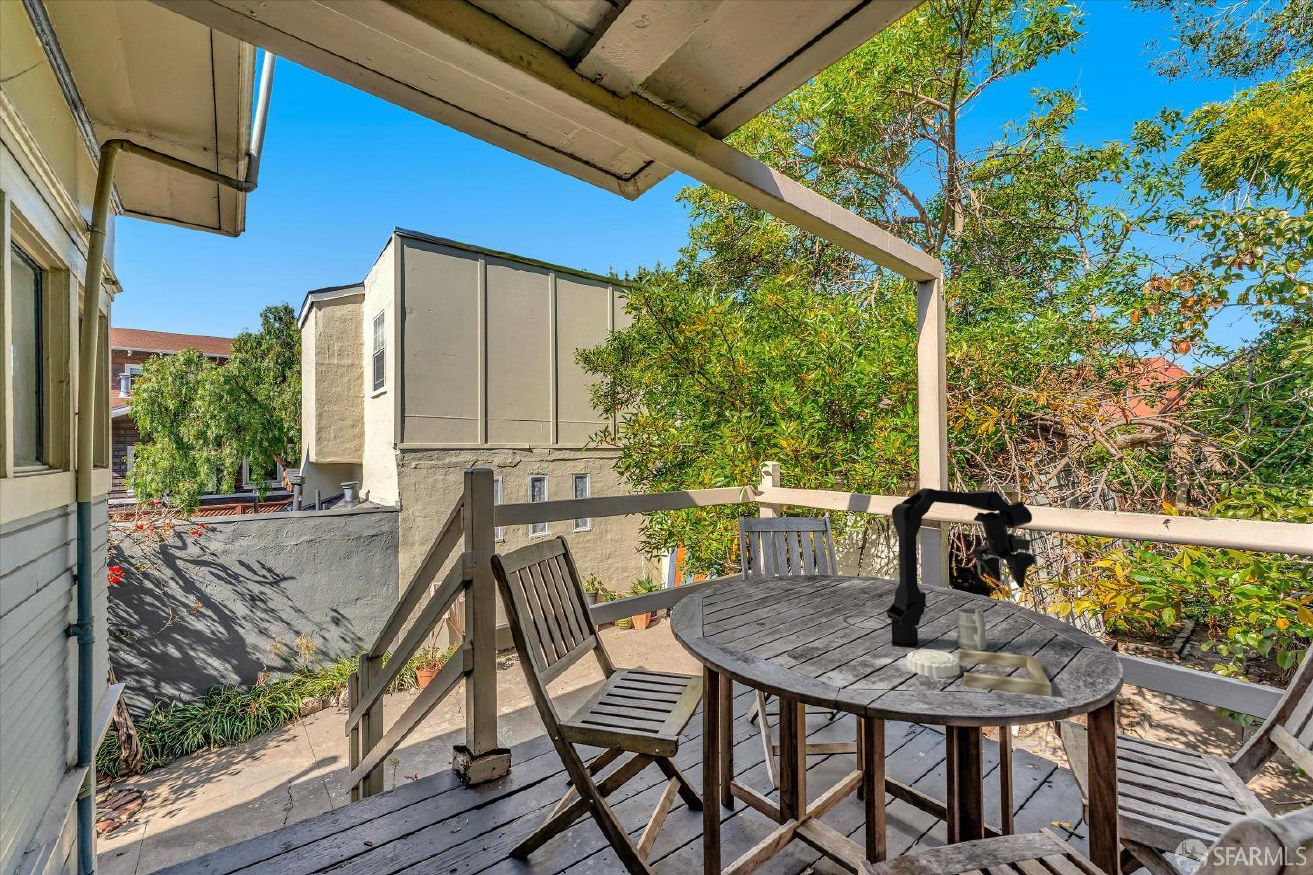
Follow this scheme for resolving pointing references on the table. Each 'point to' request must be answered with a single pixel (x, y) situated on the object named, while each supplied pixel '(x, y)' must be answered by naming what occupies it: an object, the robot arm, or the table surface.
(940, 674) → the mooncake
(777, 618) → the table surface
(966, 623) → the mug
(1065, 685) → the table surface
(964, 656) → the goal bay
